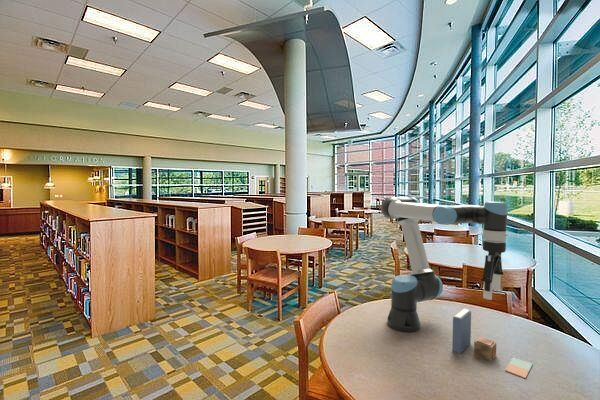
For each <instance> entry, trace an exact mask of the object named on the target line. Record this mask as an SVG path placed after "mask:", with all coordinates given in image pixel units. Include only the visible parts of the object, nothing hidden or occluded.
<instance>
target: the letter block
mask: <svg viewBox="0 0 600 400" xmlns="http://www.w3.org/2000/svg"><path fill="white" fill-rule="evenodd" d="M473 356H476V357H477V358H480V359H483V360H485V361H488V362H493V361H494V359H495V358H496V356H497V342H496V341H494V340H492V339H489V338H485V337H483V336H478V337H477V338H476V339H475V340H474V343H473Z"/></svg>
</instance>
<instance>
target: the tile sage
mask: <svg viewBox="0 0 600 400" xmlns="http://www.w3.org/2000/svg"><path fill="white" fill-rule="evenodd" d="M509 363H510V364H513V365H515V366H518V367H521V368H524V369H526V370H529V372H530V371H531V369H532V366H533V363H531V362H528V361H525V360H522V359H519V358H516V357H512V358H511V359H510V361H509Z"/></svg>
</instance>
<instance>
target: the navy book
mask: <svg viewBox="0 0 600 400" xmlns="http://www.w3.org/2000/svg"><path fill="white" fill-rule="evenodd" d="M471 333H472V310H470V309H467V308H463V309H461V310H460V311H459V312H457V313H456V314H454V315H453V316H452V347H451V348H452V349H451V351H453V352H454V353H457V354H459V355H460V354H462V353H463V352H464V350H466V349H467V347H469V345H470V344H471V336H472V334H471Z"/></svg>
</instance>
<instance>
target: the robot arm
mask: <svg viewBox="0 0 600 400" xmlns="http://www.w3.org/2000/svg"><path fill="white" fill-rule="evenodd" d="M380 211H381V213H382V215H383V216H384V217H385V218H387V219H393V220H394V219H396V223H397V224H398V225H400V226H401V229H402V230H401V231H402V234H403V239H404V242H405V247H406V251H407V256H408V259H409V262H410V263H409V264H410V267H411V272H409V274H399V275H395V276H394V277H393V278H392V279H391V285H390V289H391V290H390V291H391V293H390V294H391V296H390V299H391V300H390V310H389V313H388V316H387V321H386V322H387V323H386V324H387V325H388V327H390V328H391V329H393V330H395V331H397V332H398V331H399V332H403V333H414V332H417V331H420V329H421V321H420V318H419V314H418V311H417V308H418V307H417V303H420V302H425V301H433V300H435V299H438V298H440V297H441V295H442V293H443V291H444V287H443V286H444V285H443V282H442V279H441V278H439V276H438V275H436V274H435V271H434V270H433V269H431V268H430V263H429V261H428V260H429V259H428V257H427V253H426V250H425V246H424V241H423V236H422V233H421V229H420V225H419V221H425V222H432V223H437V224H439V225H444V226H449V225H455V224H459V225H460V224H477V225H482V226H483V227H482V228H483V232H482V239H483V241H482V250H484V251H486V252H488V254H486V255H485V256H484V257H485V259H484V260H485V261H484V267H483V274H482V278H480V279H481V282H483V293H482V294H483V296H482V298H483V299H485V300H490V301H492V300H493V290H494V291H497V292H500V291H501V279H502V276H504V271H503V265H502V263H503V262H502V253H505V252H507V251H506V250H507V249H506V247H507V243H506V240H507V237H509V234H508V233H507V223H508V204H507V203H506V202H504V201H485V202H484V205H474V204H465V203H464V204H458V205H449V204H448V205H445V204H444V205H443V204H431V203H421V201H420V200H419V199H418V198H416V197H412V196H408V195H407V196H390V197H386V198H385V199H383V201H382V202H381V204H380Z"/></svg>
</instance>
